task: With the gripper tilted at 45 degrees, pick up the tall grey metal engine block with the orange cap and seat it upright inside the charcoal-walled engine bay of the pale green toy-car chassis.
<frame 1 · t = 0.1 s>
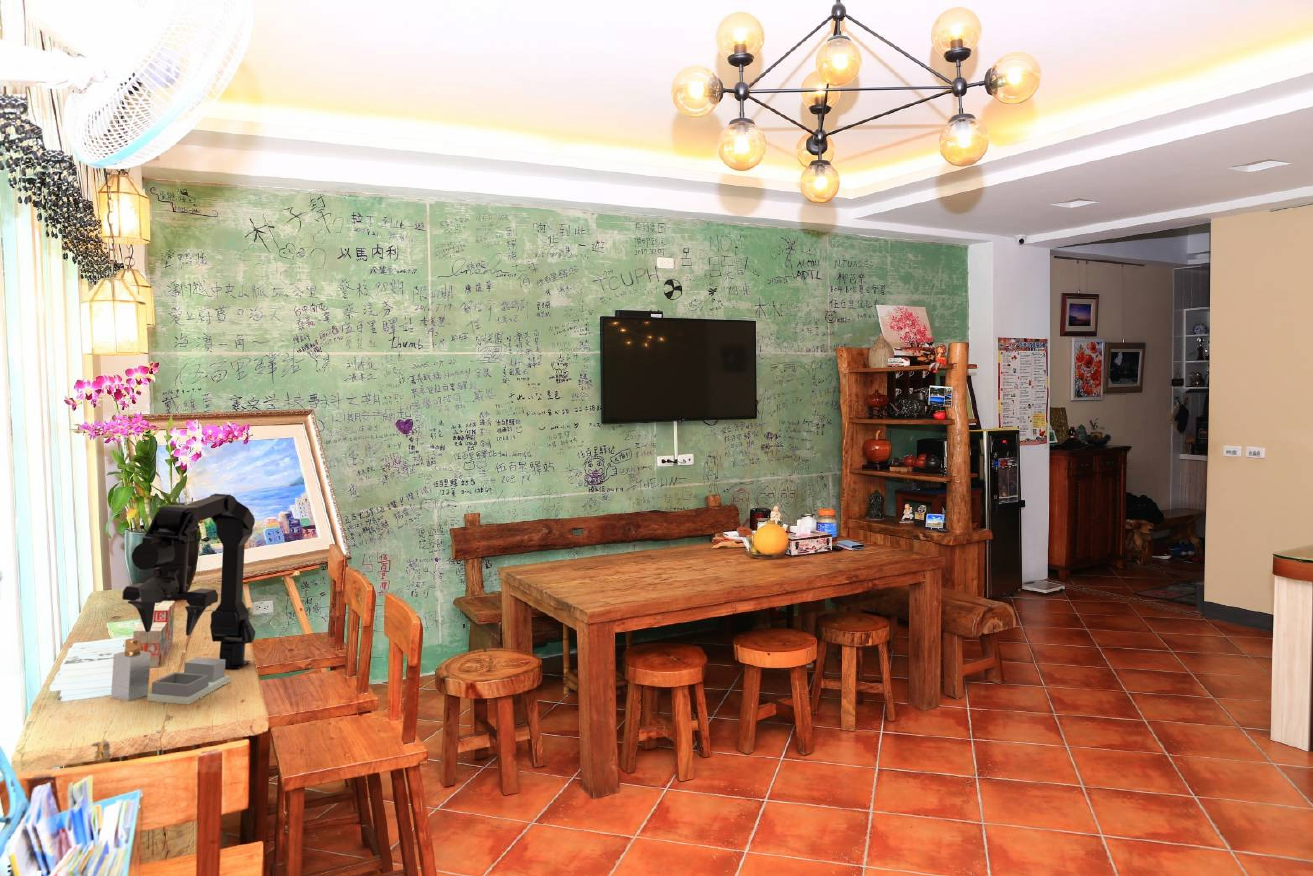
hand: (168, 633, 196), 15 cm above the table, tool pointing down, fingers open, 9 cm apart
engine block: (129, 696, 197), on the table
stack of blocks: (152, 657, 227), on the table
chassis: (190, 691, 203), on the table
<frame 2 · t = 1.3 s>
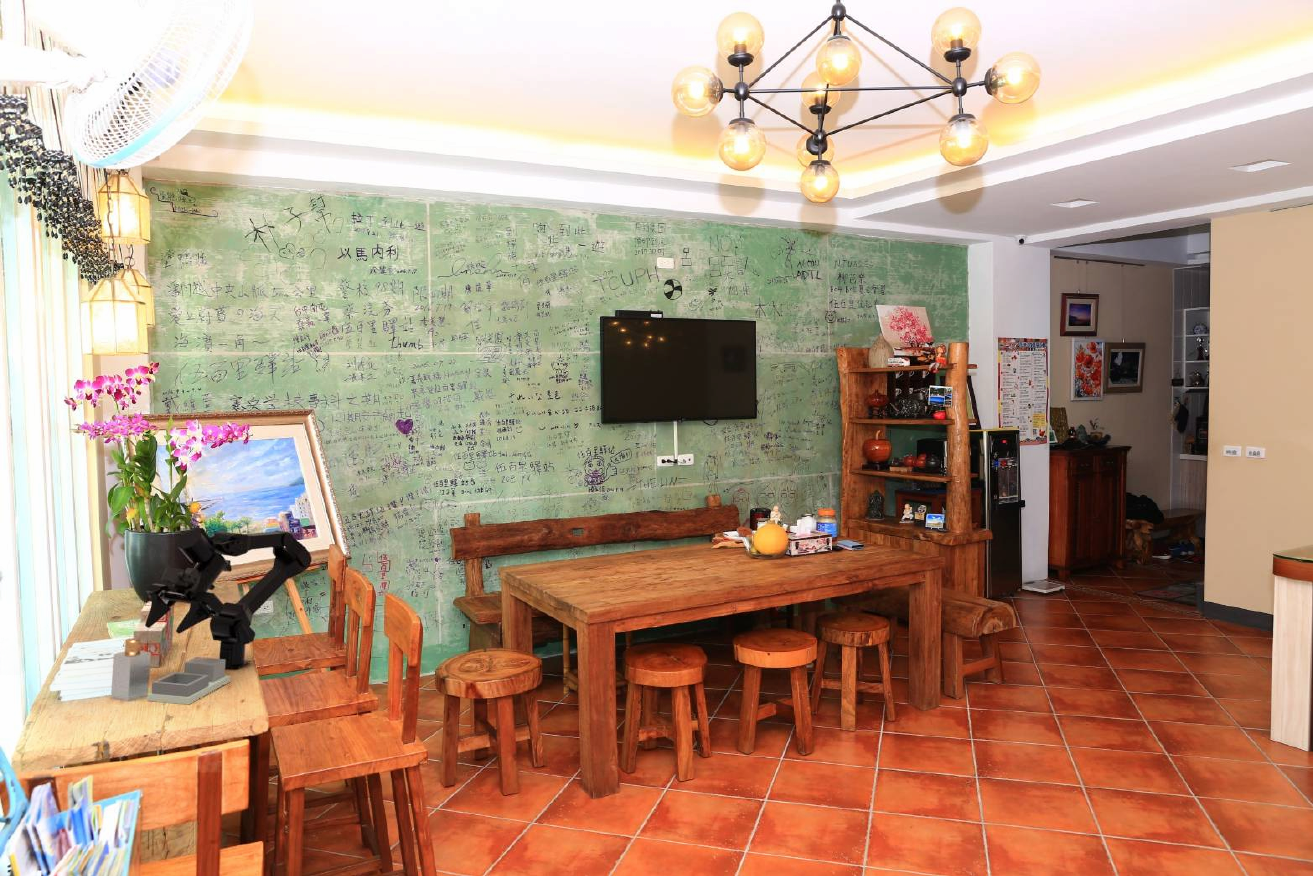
hand: (161, 629, 203), 13 cm above the table, tool tilted 45°, fingers open, 9 cm apart
nothing on the table moved.
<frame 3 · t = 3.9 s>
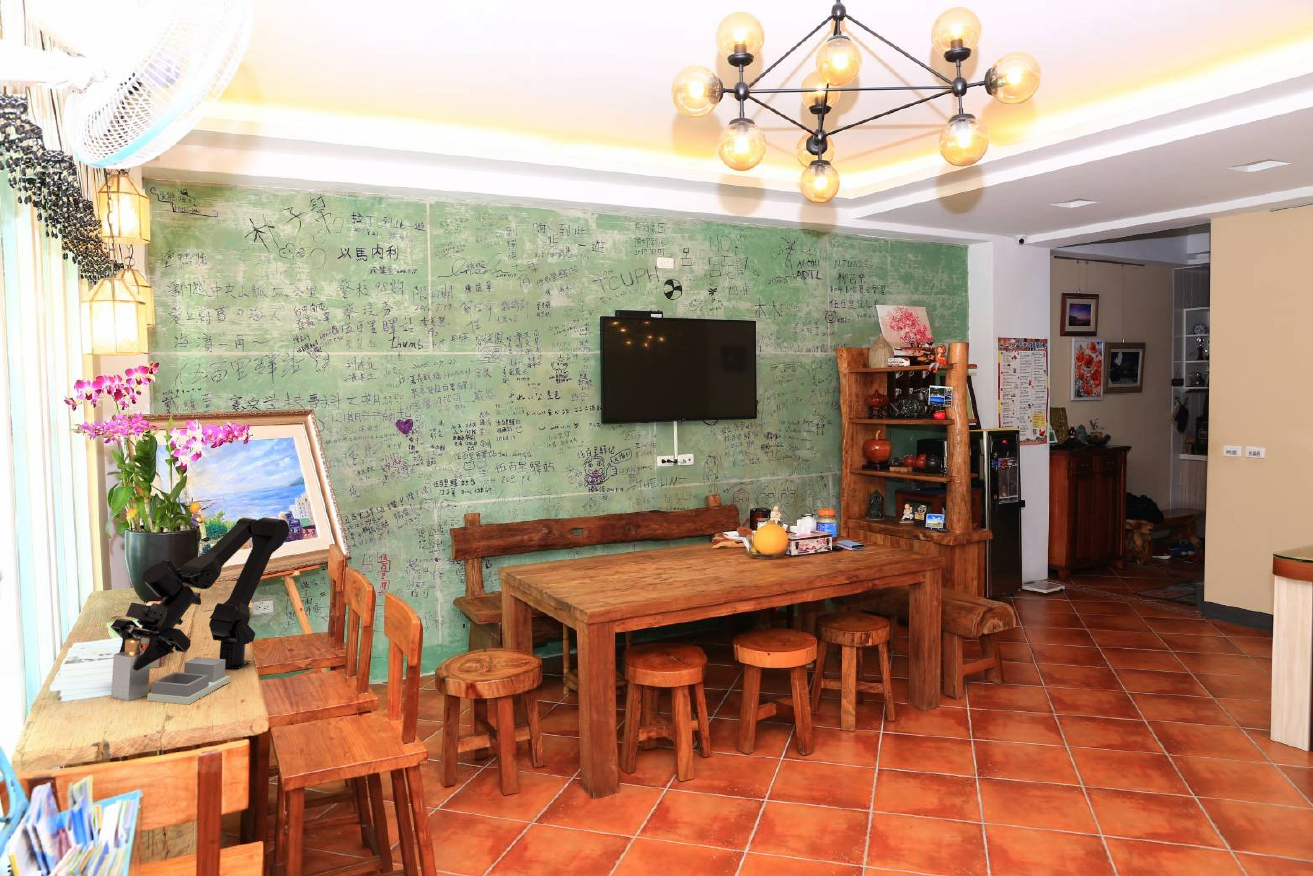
hand: (125, 667, 195), 7 cm above the table, tool tilted 45°, fingers closed on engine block, 5 cm apart
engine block: (129, 696, 197), on the table, touching gripper
everything else where it was.
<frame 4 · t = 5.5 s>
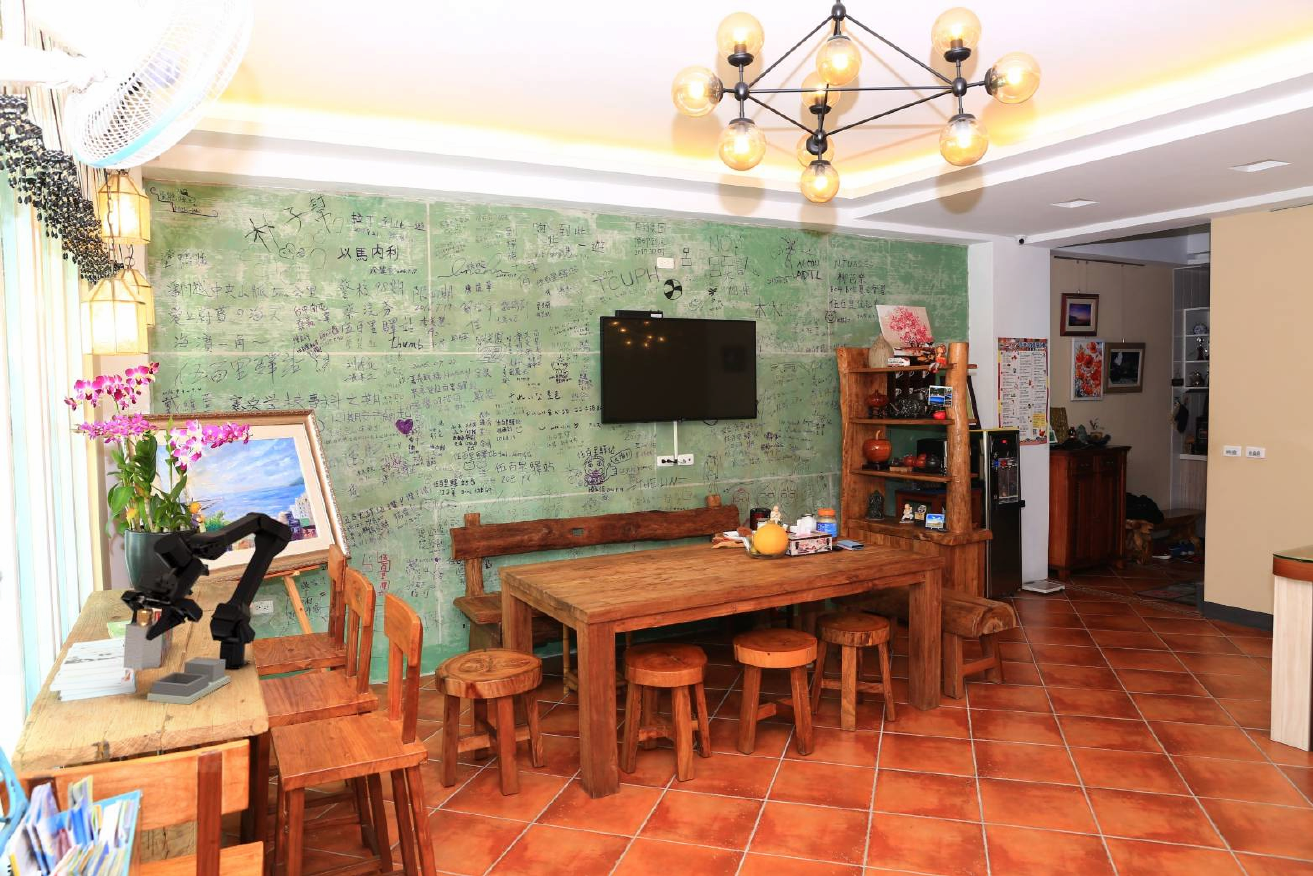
hand: (138, 638, 195), 13 cm above the table, tool tilted 45°, fingers closed on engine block, 5 cm apart
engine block: (142, 666, 197), point 7 cm above the table, touching gripper
everything else where it was.
when the fingers open (9 cm above the table, at t = 7.4 s): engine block drops 1 cm, resting on chassis.
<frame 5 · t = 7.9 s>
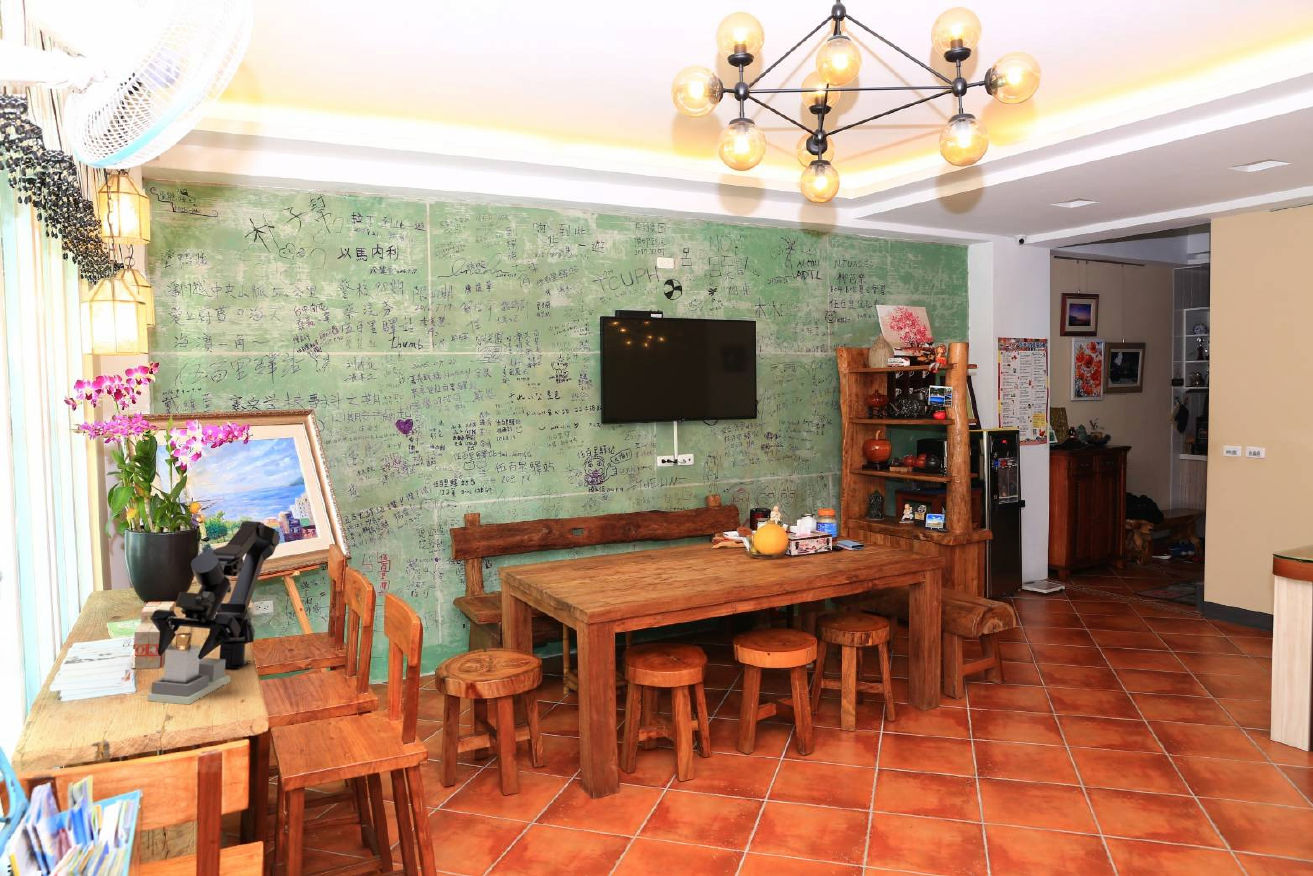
hand: (179, 656, 197), 9 cm above the table, tool tilted 45°, fingers open, 9 cm apart
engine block: (180, 689, 199), point 1 cm above the table, touching chassis
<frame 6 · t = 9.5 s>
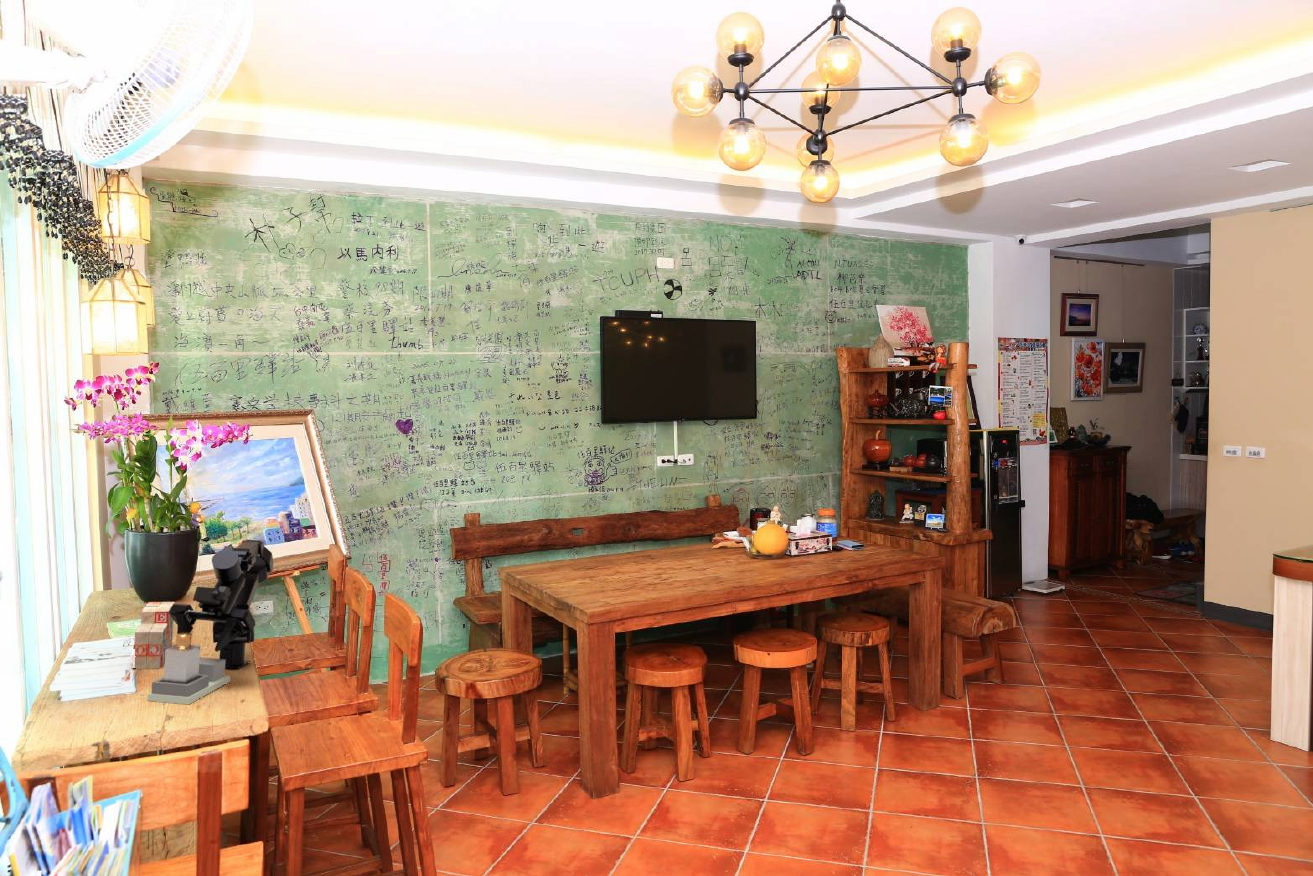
hand: (196, 649, 204), 9 cm above the table, tool tilted 45°, fingers open, 9 cm apart
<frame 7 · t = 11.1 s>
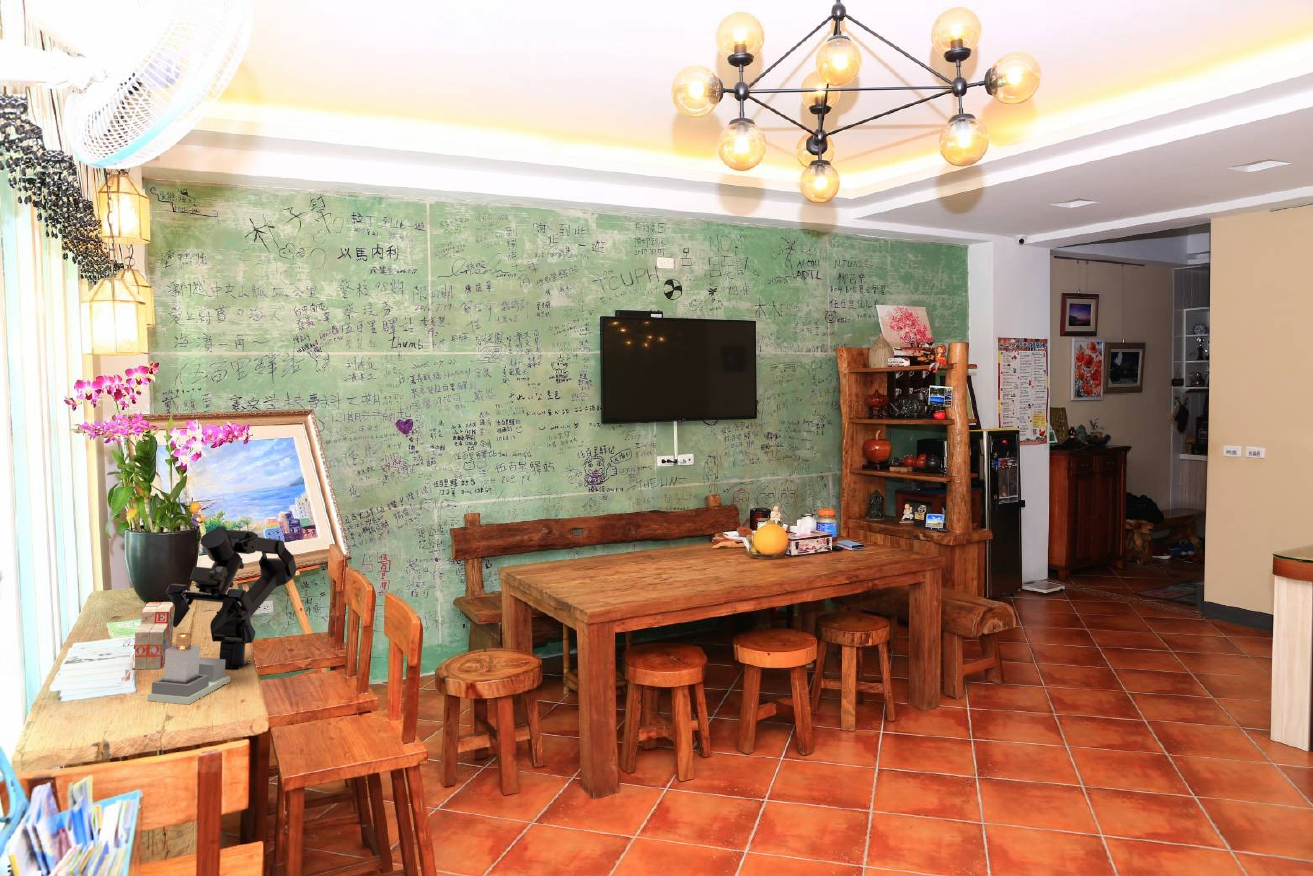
hand: (193, 628, 206), 14 cm above the table, tool tilted 45°, fingers open, 9 cm apart
at the end: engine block 0.0 cm from the target spot, point 1.5 cm above the table; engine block tilted 0°; the gripper is holding nothing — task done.
